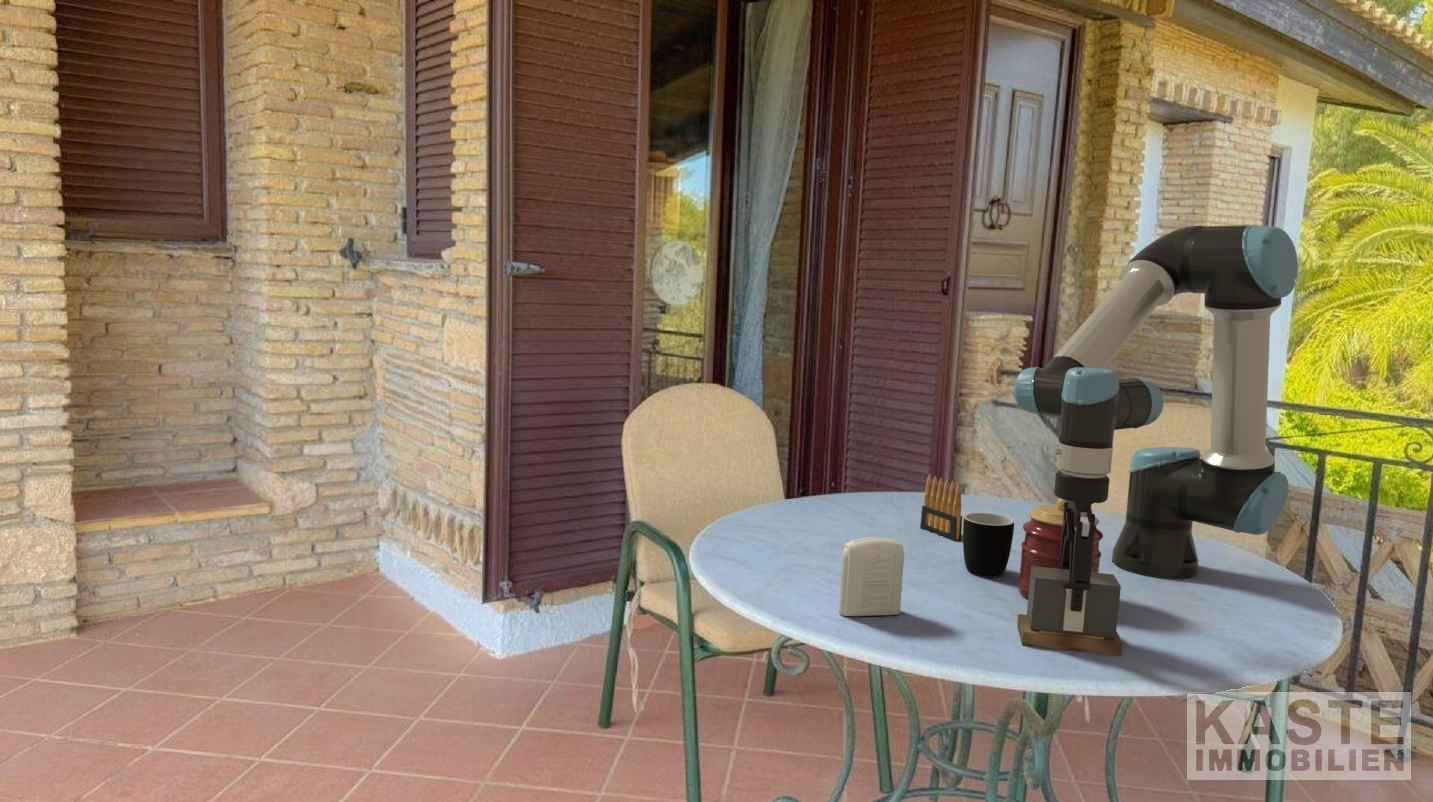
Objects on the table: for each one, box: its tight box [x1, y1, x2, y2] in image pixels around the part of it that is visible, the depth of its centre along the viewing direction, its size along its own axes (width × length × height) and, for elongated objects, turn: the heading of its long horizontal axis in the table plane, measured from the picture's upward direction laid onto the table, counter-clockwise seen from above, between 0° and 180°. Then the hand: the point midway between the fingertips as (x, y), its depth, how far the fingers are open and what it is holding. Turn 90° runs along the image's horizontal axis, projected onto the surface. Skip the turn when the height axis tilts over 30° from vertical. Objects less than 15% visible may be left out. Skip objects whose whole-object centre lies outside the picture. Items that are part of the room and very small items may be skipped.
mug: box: [962, 512, 1015, 578], centre depth 185 cm, size 12×9×10 cm
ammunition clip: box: [919, 473, 963, 542], centre depth 208 cm, size 11×2×12 cm, turn 29°
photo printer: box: [837, 536, 905, 617], centre depth 159 cm, size 10×4×12 cm, turn 103°
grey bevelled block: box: [1026, 566, 1122, 639], centre depth 150 cm, size 12×6×8 cm, turn 78°
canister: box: [1017, 498, 1104, 600], centre depth 170 cm, size 13×13×18 cm
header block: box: [1017, 613, 1124, 656], centre depth 151 cm, size 14×8×6 cm, turn 78°
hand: (1069, 621), depth 151 cm, fingers open, 6 cm apart
